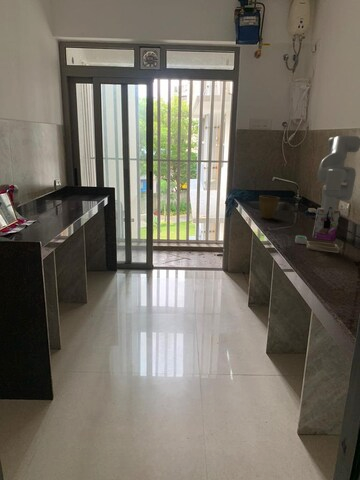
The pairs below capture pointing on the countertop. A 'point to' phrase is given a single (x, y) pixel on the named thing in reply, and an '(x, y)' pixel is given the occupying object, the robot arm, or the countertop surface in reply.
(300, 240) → the button housing
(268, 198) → the plant pot
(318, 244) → the tray
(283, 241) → the countertop surface
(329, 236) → the candy bar box
